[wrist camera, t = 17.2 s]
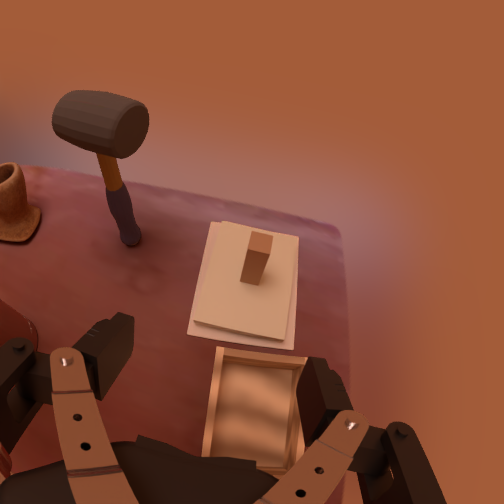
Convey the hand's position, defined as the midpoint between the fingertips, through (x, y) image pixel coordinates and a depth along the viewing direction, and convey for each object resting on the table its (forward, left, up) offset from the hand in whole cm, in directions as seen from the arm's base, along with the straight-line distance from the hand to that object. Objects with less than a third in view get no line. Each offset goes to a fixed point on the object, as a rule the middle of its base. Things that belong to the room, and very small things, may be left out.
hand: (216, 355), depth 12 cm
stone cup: (-9, +54, -32) cm, 63 cm away
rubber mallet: (+9, +29, -32) cm, 44 cm away
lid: (+18, +8, -30) cm, 36 cm away
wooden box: (+1, -7, -32) cm, 33 cm away
